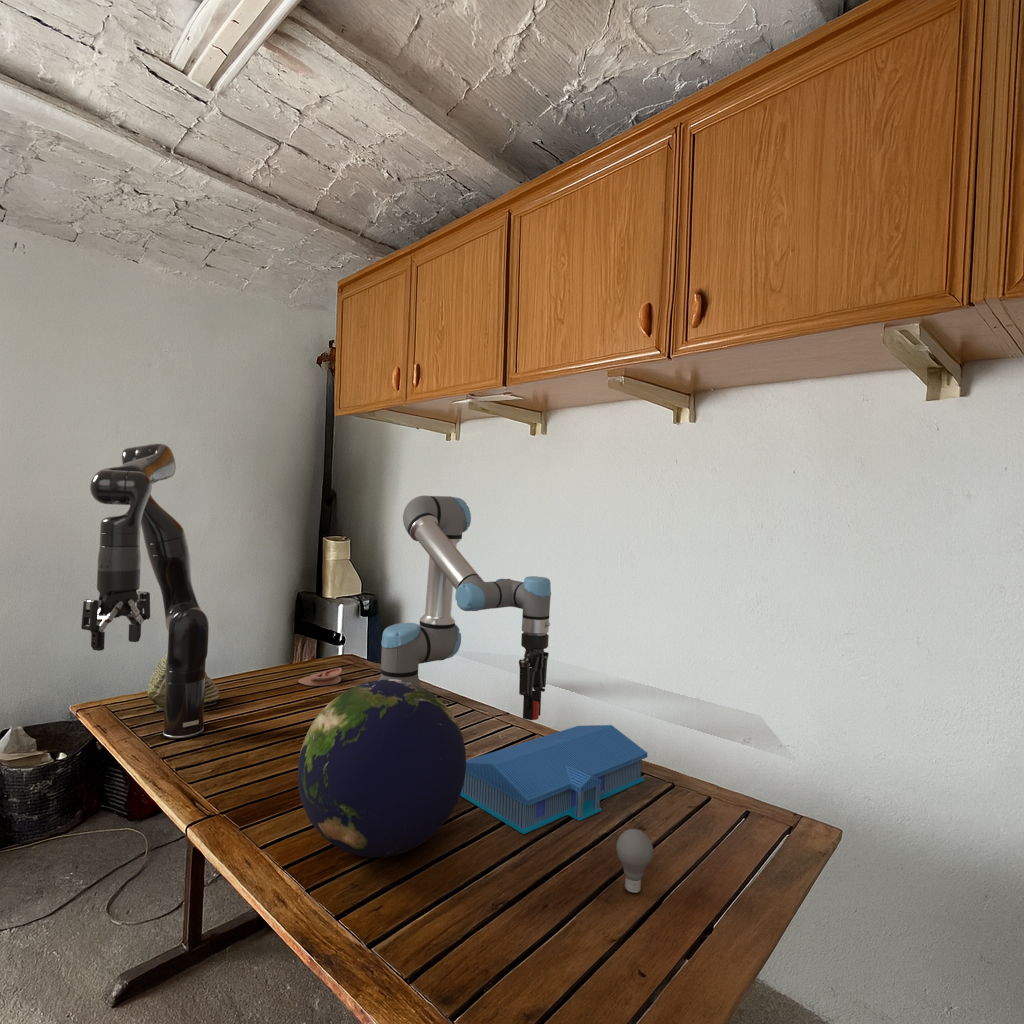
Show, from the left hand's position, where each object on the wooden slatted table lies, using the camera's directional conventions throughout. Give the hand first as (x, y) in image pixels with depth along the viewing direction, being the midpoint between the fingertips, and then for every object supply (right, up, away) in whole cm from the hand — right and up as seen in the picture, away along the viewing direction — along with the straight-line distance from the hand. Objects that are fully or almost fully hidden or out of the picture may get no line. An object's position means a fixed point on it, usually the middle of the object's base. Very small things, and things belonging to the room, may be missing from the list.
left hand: (116, 645), depth 131 cm
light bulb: (+102, -36, -25) cm, 111 cm away
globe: (+58, -34, -15) cm, 68 cm away
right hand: (+87, -29, +45) cm, 102 cm away
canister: (+87, -30, +45) cm, 102 cm away
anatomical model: (+17, -30, +84) cm, 91 cm away
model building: (+92, -35, +11) cm, 99 cm away
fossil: (-14, -29, +54) cm, 63 cm away
